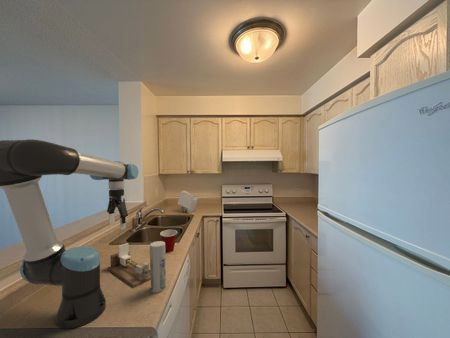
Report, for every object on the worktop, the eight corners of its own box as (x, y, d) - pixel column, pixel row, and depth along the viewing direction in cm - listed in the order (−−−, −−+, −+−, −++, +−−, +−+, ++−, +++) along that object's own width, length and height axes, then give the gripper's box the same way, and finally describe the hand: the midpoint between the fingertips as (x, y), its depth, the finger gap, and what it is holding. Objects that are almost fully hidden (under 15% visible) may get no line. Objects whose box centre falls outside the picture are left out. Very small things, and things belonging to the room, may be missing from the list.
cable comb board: (134, 288, 93) (134, 272, 93) (107, 269, 110) (107, 256, 110) (158, 277, 102) (158, 262, 102) (129, 261, 120) (129, 248, 120)
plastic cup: (159, 255, 128) (159, 235, 128) (160, 248, 138) (160, 230, 138) (178, 252, 131) (177, 233, 130) (177, 246, 141) (176, 228, 141)
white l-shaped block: (123, 266, 107) (122, 247, 107) (118, 263, 110) (118, 245, 110) (132, 263, 111) (132, 245, 111) (127, 260, 114) (127, 242, 114)
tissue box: (183, 207, 261) (188, 188, 258) (194, 212, 257) (200, 193, 254) (174, 211, 241) (181, 191, 238) (186, 216, 237) (193, 196, 234)
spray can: (152, 284, 96) (152, 241, 95) (167, 284, 96) (166, 240, 96) (148, 293, 89) (147, 246, 89) (164, 292, 90) (163, 246, 89)
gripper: (134, 189, 111) (135, 229, 112) (113, 187, 127) (114, 222, 127) (119, 191, 105) (120, 233, 106) (100, 188, 121) (101, 224, 121)
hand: (117, 227), depth 116 cm, fingers open, 13 cm apart
